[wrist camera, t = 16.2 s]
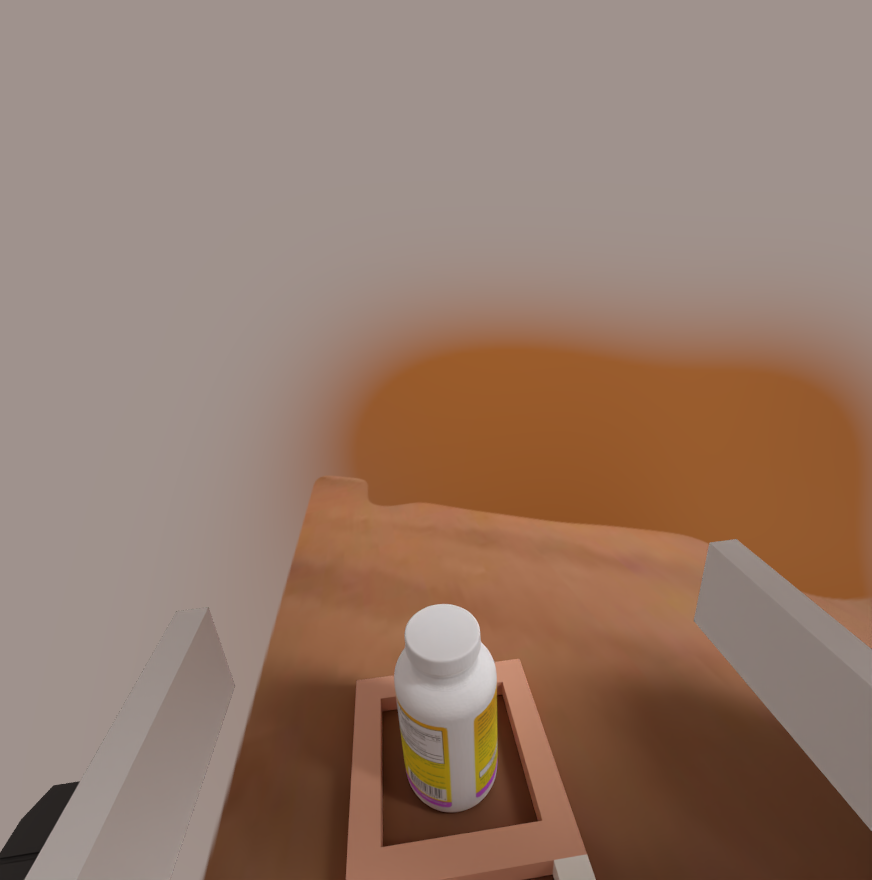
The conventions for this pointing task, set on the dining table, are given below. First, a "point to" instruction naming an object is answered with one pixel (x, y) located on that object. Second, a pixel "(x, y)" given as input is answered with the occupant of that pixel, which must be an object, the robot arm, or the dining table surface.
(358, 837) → the rack
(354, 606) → the dining table surface
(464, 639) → the supplement bottle
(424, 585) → the dining table surface
